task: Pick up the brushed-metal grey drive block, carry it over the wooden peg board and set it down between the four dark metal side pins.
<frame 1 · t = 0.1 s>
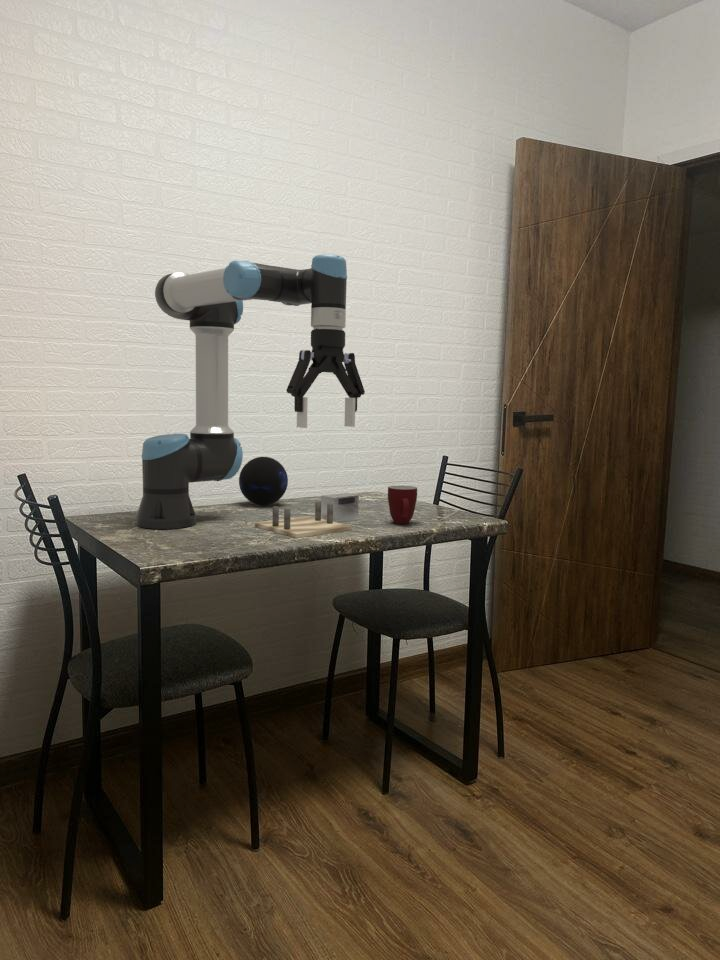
hand: (326, 427, 162), 28 cm above the table, fingers open, 13 cm apart
decorative sphere: (263, 505, 227), on the table
drive: (339, 520, 205), on the table
mug: (402, 524, 201), on the table
wooden peg board: (303, 528, 191), on the table
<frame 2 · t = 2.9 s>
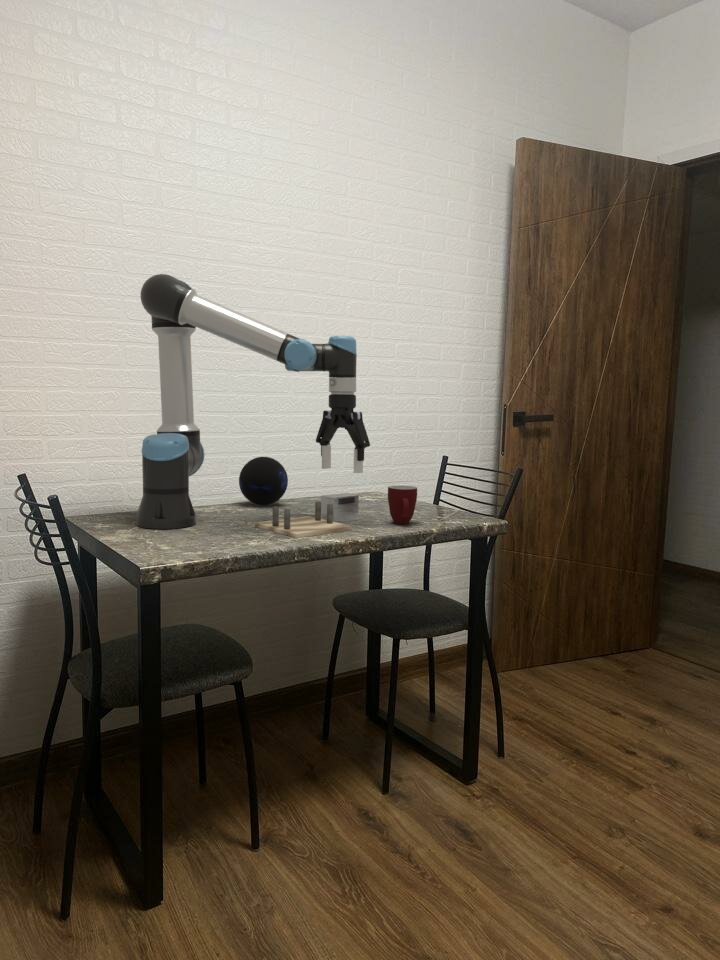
hand: (341, 470, 203), 14 cm above the table, fingers open, 13 cm apart
nothing on the table moved.
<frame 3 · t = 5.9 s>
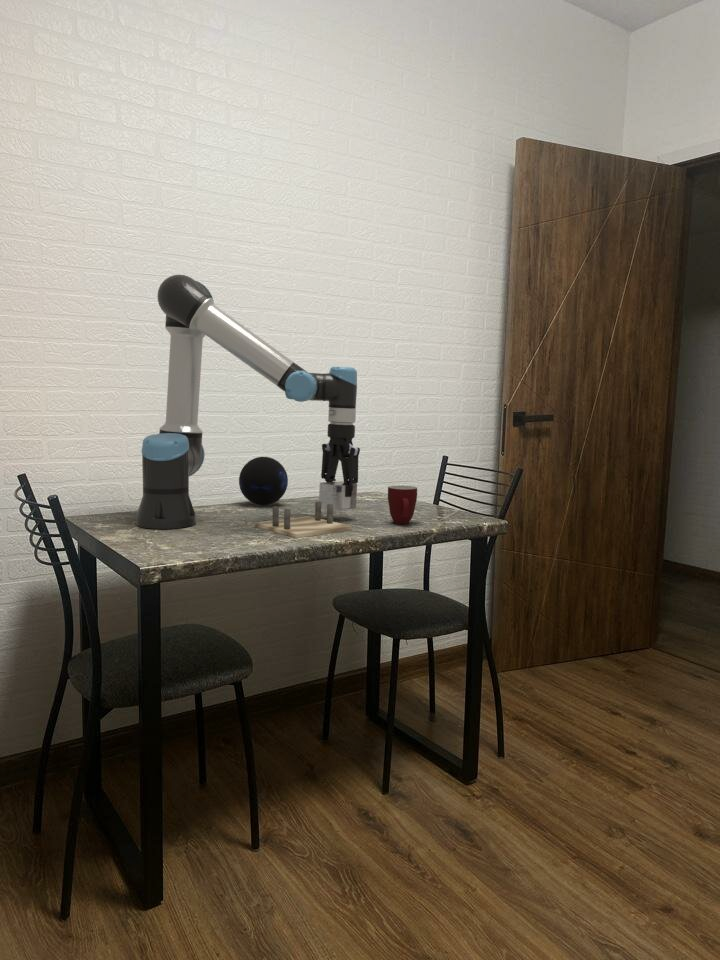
hand: (338, 506, 205), 4 cm above the table, fingers closed on drive, 6 cm apart
drive: (337, 508, 204), point 3 cm above the table, touching gripper
everything else where it was.
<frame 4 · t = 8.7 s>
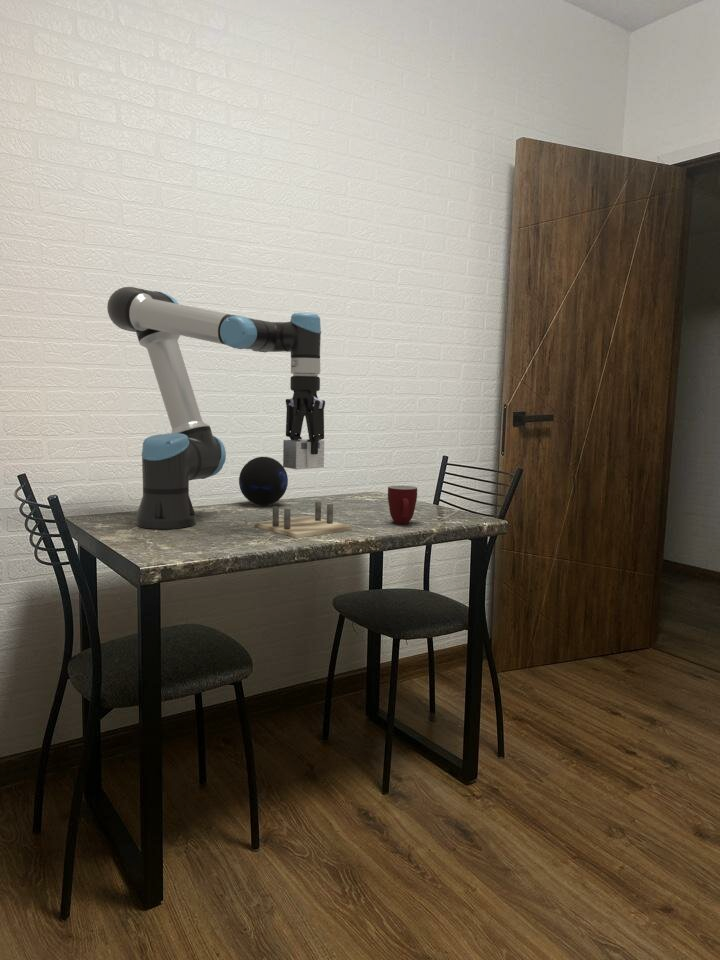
hand: (304, 465, 189), 16 cm above the table, fingers closed on drive, 6 cm apart
drive: (303, 467, 189), point 16 cm above the table, touching gripper
everything else where it was.
when the fingers open (2 cm above the table, at t = 11.8 s): drive stays where it is, resting on wooden peg board.
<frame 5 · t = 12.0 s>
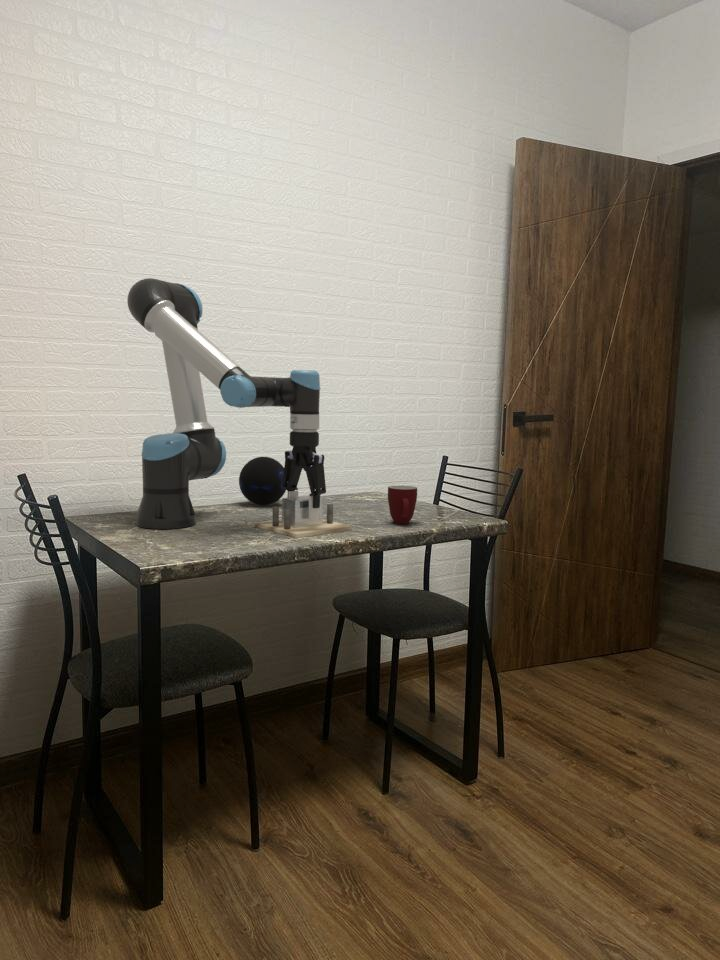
hand: (303, 517, 191), 3 cm above the table, fingers open, 8 cm apart
drive: (302, 524, 191), point 1 cm above the table, touching wooden peg board
everything else where it was.
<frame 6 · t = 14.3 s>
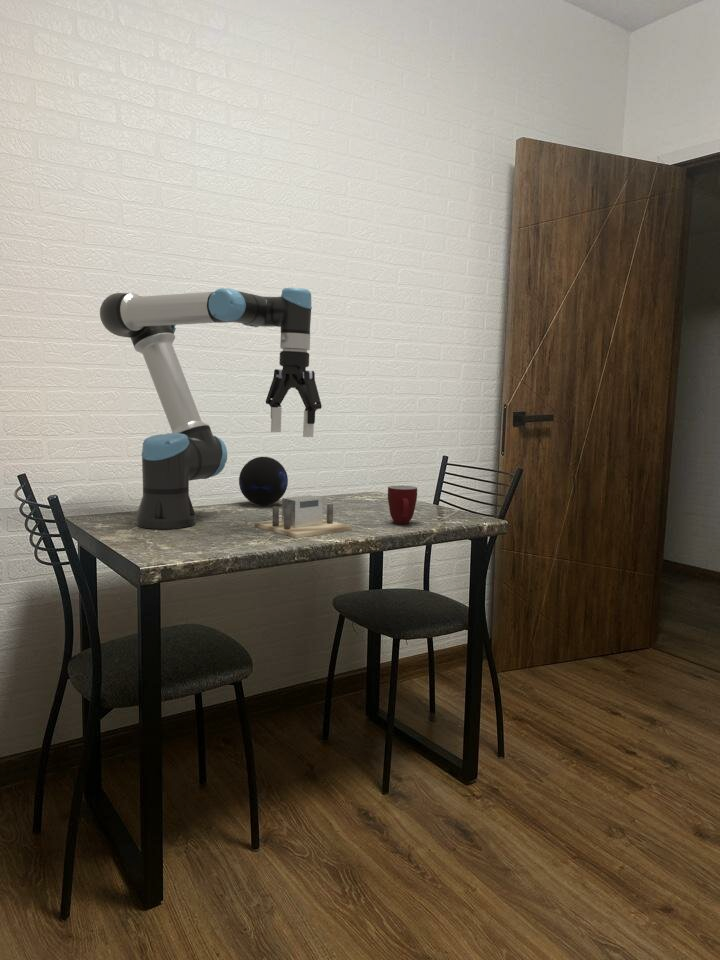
hand: (291, 434, 189), 24 cm above the table, fingers open, 13 cm apart
nothing on the table moved.
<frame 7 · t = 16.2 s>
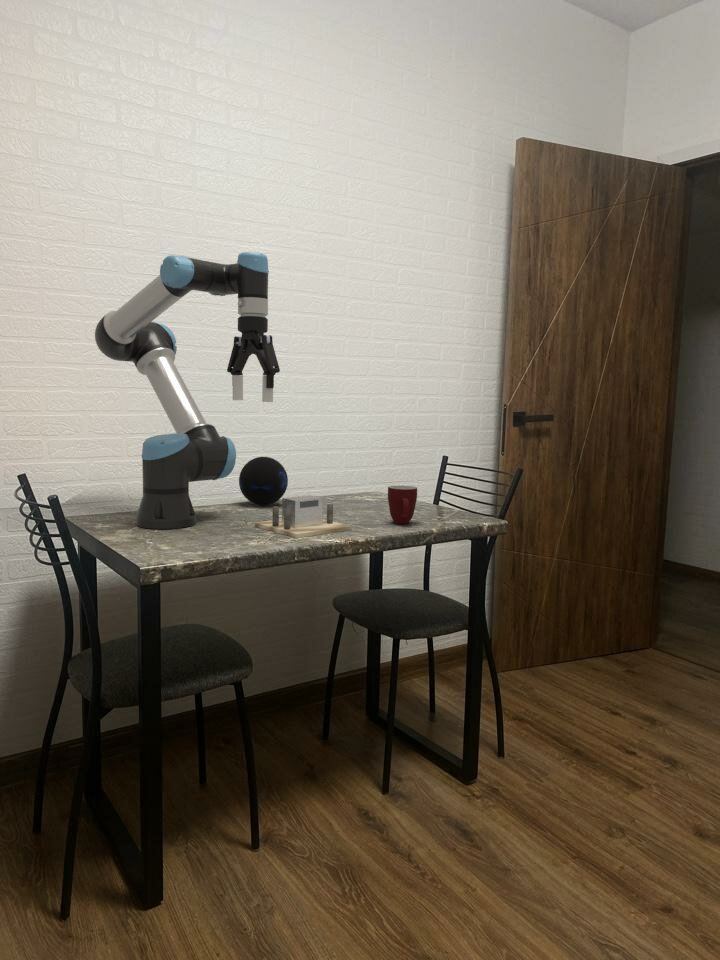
hand: (252, 401, 187), 33 cm above the table, fingers open, 13 cm apart
nothing on the table moved.
at the end: drive inside the target area on the wooden peg board (0.2 cm from its centre), point 1.0 cm above the wooden peg board's base; drive tilted 0°; the gripper is holding nothing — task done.
